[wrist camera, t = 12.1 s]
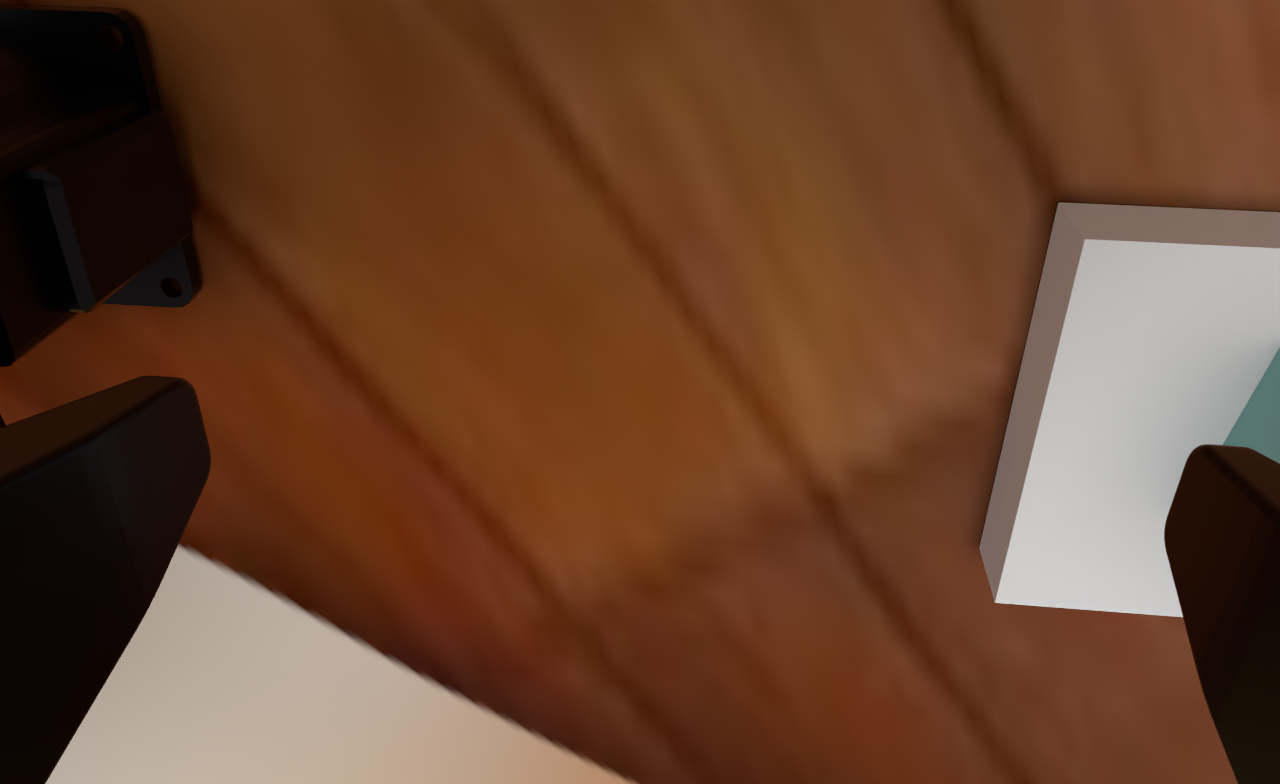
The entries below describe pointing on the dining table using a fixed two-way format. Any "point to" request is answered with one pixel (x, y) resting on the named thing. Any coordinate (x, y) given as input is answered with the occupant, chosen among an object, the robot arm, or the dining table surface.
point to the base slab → (1125, 396)
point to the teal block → (1261, 416)
